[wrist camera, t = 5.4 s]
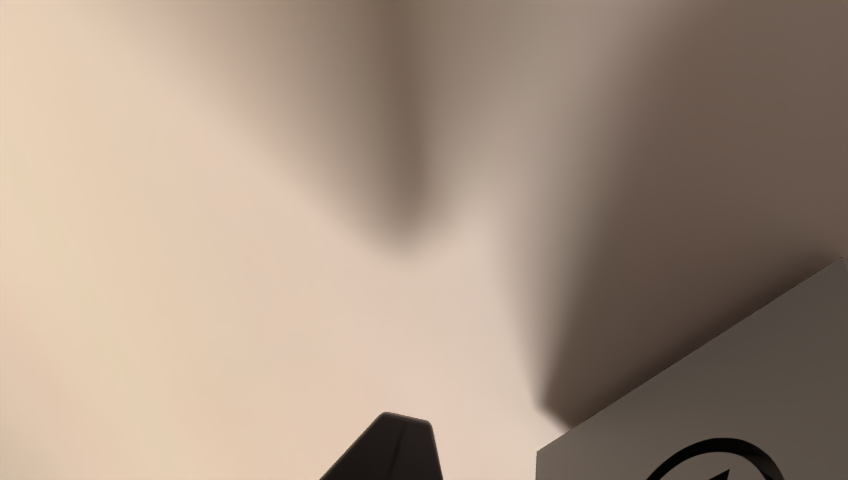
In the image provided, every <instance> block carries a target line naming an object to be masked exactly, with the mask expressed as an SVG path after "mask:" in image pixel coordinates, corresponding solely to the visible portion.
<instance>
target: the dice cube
mask: <svg viewBox="0 0 848 480" xmlns="http://www.w3.org/2000/svg"><path fill="white" fill-rule="evenodd" d="M536 480H848V262H847V261H846V260H845V259H843V258H842V257H840V258H839V259H837V260H835V261H834V262H832V263H831V264H829V265H828V266H826V267H824V268H823V269H821V270H820V271H818V272H817V273H815V274H814V275H812V276H810V277H809V278H807V279H806V280H804V281H803V282H801V283H799V284H798V285H796V286H795V287H793V288H792V289H790V290H789V291H787V292H785V293H784V294H782V295H781V296H779V297H778V298H776V299H775V300H773V301H771V302H770V303H768V304H767V305H765V306H764V307H762V308H760V309H759V310H757V311H756V312H754V313H753V314H751V315H750V316H748V317H746V318H745V319H743V320H742V321H740V322H739V323H737V324H735V325H734V326H732V327H731V328H729V329H728V330H726V331H725V332H723V333H721V334H720V335H718V336H717V337H715V338H714V339H712V340H710V341H709V342H707V343H706V344H704V345H703V346H701V347H700V348H698V349H696V350H695V351H693V352H692V353H690V354H689V355H687V356H685V357H684V358H682V359H681V360H679V361H678V362H676V363H675V364H673V365H671V366H670V367H668V368H667V369H665V370H664V371H662V372H660V373H659V374H657V375H656V376H654V377H653V378H651V379H650V380H648V381H646V382H645V383H643V384H642V385H640V386H639V387H637V388H635V389H634V390H632V391H631V392H629V393H628V394H626V395H625V396H623V397H621V398H620V399H618V400H617V401H615V402H614V403H612V404H610V405H609V406H607V407H606V408H604V409H603V410H601V411H600V412H598V413H596V414H595V415H593V416H592V417H590V418H589V419H587V420H585V421H584V422H582V423H581V424H579V425H578V426H576V427H575V428H573V429H571V430H570V431H568V432H567V433H565V434H564V435H562V436H561V437H559V438H557V439H556V440H554V441H553V442H551V443H550V444H548V445H546V446H545V447H543V448H542V449H540V450H539V451H537V460H536Z"/></svg>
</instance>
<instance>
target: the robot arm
mask: <svg viewBox="0 0 848 480" xmlns="http://www.w3.org/2000/svg"><path fill="white" fill-rule="evenodd" d="M319 480H443V476H442V471H441V466H440V462H439V457H438V452H437V447H436V442H435V438H434V433H433V428H432V425H431V424H430V422H429V421H426V420H422V419H418V418H413V417H409V416H404V415H400V414H395V413H391V412H384V413H382V414H380V415H379V416H378V417H377V418H376V419H375V420H374V421H373V422H372V423H371V425H370V426H369V427H368V428H367V429H366V430H365V431H364V432H363V433H362V434H361V435H360V436H359V437H358V439H357V440H356V441H355V442H354V443H353V444H352V445H351V446H350V447H349V448H348V449H347V450H346V451H345V453H344V454H343V455H342V456H341V457H340V458H339V459H338V460H337V461H336V462H335V463H334V464H333V465H332V467H331V468H330V469H329V470H328V471H327V472H326V473H325V474H324V475H323V476H322V477H321V478H320V479H319Z"/></svg>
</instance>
